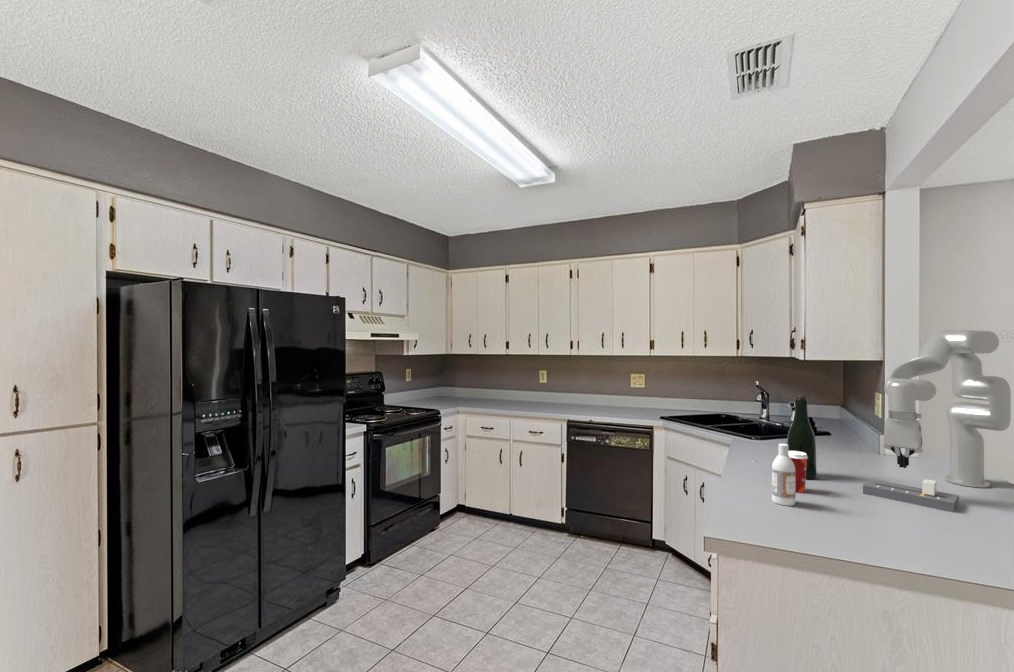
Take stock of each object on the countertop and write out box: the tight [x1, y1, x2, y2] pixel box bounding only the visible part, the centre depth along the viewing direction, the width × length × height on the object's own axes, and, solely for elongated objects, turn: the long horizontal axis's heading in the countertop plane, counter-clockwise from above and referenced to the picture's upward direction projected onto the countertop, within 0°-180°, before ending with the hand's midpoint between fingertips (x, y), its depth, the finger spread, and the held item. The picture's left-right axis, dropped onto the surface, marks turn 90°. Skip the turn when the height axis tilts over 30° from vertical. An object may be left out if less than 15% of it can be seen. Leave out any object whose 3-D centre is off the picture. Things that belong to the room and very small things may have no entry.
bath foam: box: [771, 443, 796, 507], centre depth 159 cm, size 7×7×20 cm
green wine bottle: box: [786, 395, 818, 480], centre depth 190 cm, size 10×10×33 cm
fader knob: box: [921, 478, 938, 496], centre depth 159 cm, size 5×3×4 cm, turn 130°
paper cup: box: [788, 451, 808, 494], centre depth 172 cm, size 8×8×14 cm
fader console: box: [862, 478, 960, 513], centre depth 163 cm, size 12×24×3 cm, turn 40°
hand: (903, 466), depth 165 cm, fingers closed
